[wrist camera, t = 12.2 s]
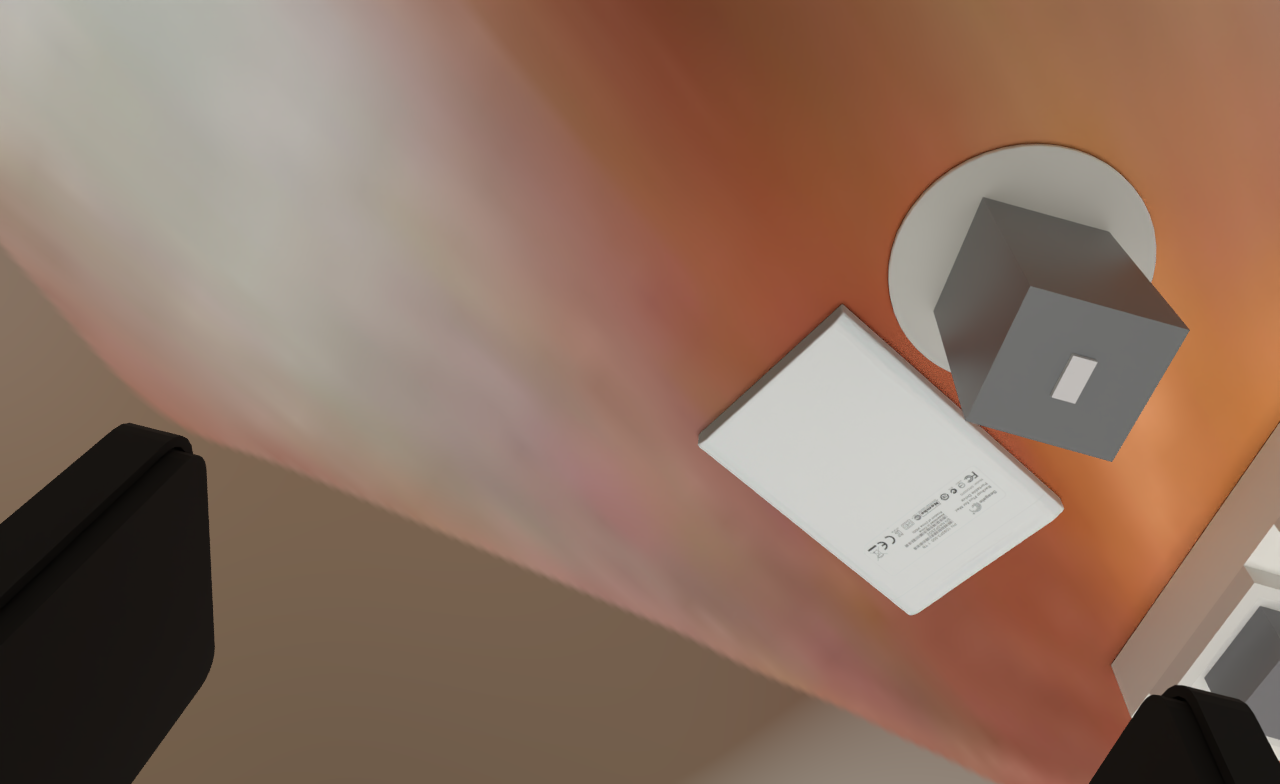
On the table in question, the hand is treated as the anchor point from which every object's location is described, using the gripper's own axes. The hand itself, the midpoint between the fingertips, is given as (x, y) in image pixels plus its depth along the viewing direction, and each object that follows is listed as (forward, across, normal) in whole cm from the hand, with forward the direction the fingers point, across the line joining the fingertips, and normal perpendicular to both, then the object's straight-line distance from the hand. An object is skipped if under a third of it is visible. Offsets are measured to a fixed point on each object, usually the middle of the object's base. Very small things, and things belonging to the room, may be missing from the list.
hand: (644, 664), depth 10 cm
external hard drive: (+28, -8, +14) cm, 32 cm away
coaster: (+27, -11, +4) cm, 29 cm away
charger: (+27, -11, +4) cm, 29 cm away
